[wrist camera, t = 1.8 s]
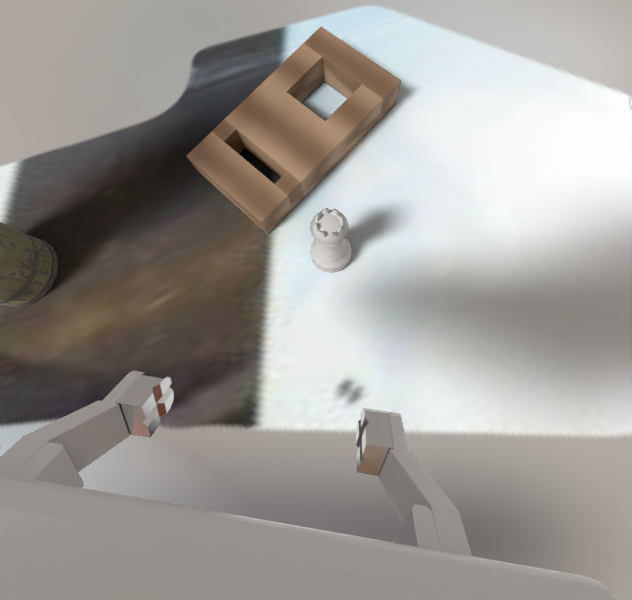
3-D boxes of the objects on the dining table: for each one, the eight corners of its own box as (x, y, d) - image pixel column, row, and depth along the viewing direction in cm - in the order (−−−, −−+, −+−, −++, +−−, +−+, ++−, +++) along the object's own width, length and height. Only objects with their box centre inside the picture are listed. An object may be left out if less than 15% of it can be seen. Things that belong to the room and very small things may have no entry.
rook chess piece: (329, 227, 32) (326, 187, 24) (359, 252, 31) (367, 218, 23) (302, 256, 31) (291, 225, 23) (333, 282, 30) (331, 258, 23)
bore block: (322, 53, 36) (321, 26, 33) (395, 104, 34) (401, 80, 31) (199, 172, 34) (186, 155, 31) (268, 234, 32) (261, 222, 29)
